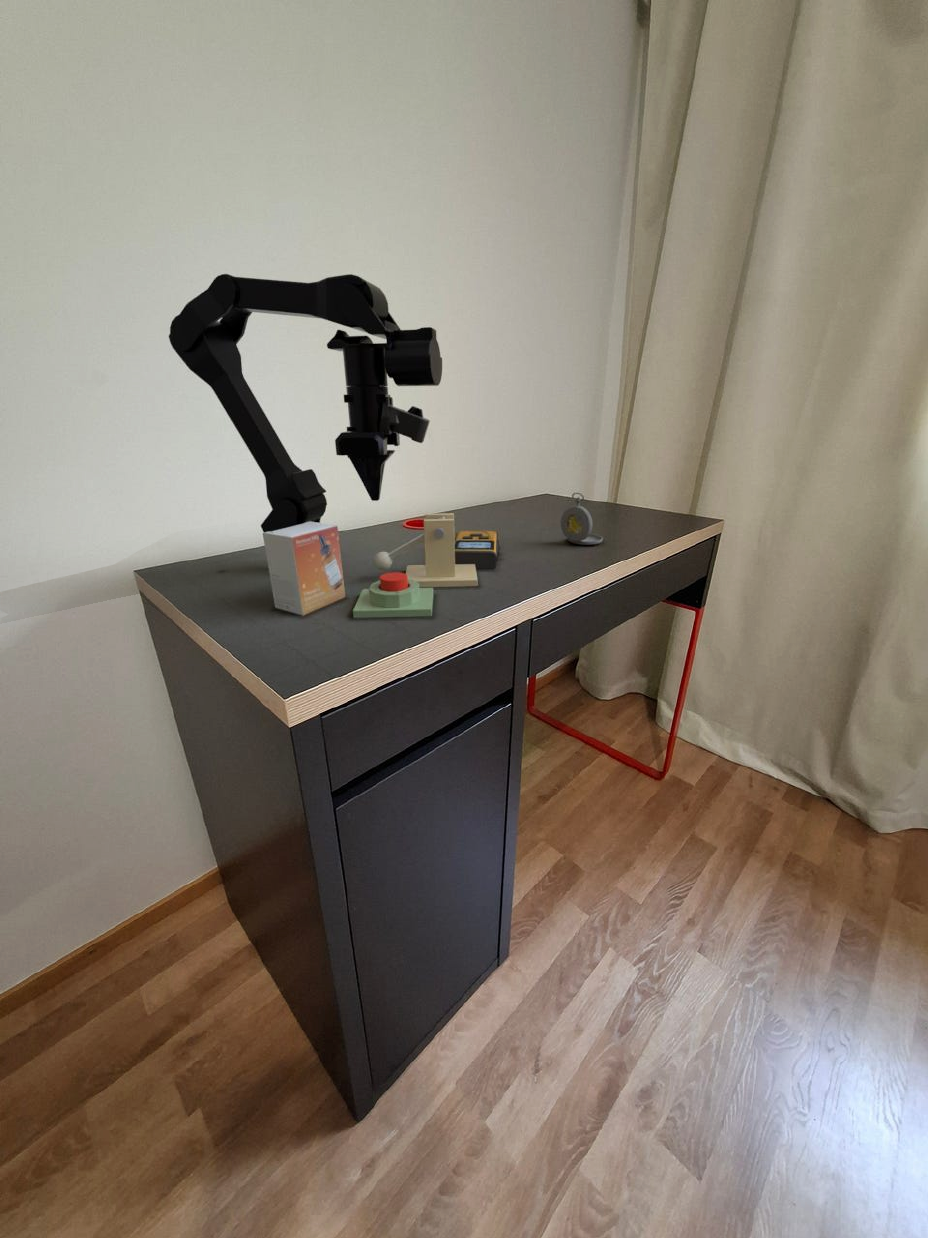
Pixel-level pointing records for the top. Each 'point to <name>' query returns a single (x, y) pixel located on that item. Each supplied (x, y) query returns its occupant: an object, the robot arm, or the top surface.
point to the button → (393, 582)
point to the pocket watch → (579, 525)
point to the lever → (396, 552)
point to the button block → (394, 602)
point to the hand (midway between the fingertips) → (375, 500)
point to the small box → (304, 566)
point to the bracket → (441, 557)
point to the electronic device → (477, 548)
